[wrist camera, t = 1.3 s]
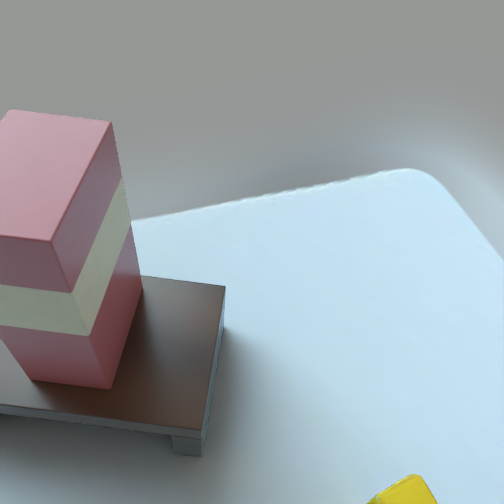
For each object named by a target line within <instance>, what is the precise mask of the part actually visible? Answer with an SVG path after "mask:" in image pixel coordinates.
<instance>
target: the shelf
mask: <svg viewBox="0 0 504 504" xmlns="http://www.w3.org/2000/svg"><path fill="white" fill-rule="evenodd" d="M141 280H142V286H143V288H142V291H141V294H140V297H139V300H138V304H137V307H136V310H135V313H134V317H133V320H132V323H131V326H130V329H129V333H128V336H127V339H126V342H125V346H124V349H123V352H122V355H121V359H120V362H119V365H118V368H117V371H116V375H115V378H114V381H113V384H112V388H111V390H107V389H99V388H91V387H84V386H76V385H68V384H60V383H52V382H44V381H37V380H30V379H29V377H28V376H27V375H26V373H25V372H24V371H23V369H22V368H21V366H20V365H19V364H18V362H17V361H16V359H15V358H14V357H13V355H12V354H11V352H10V351H9V350H8V348H7V347H6V345H5V344H4V343H3V341H2V340H1V338H0V413H2V414H9V415H17V416H25V417H33V418H41V419H48V420H56V421H64V422H72V423H80V424H87V425H95V426H103V427H111V428H119V429H126V430H134V431H142V432H150V433H158V434H165V435H171V438H172V444H173V449H174V453H175V454H181V455H188V456H196V457H202V456H203V450H204V444H205V437H206V431H207V425H208V419H209V412H210V406H211V400H212V394H213V387H214V381H215V375H216V369H217V363H218V356H219V350H220V344H221V338H222V331H223V325H224V308H225V290H226V287H225V286H220V285H212V284H204V283H197V282H189V281H181V280H173V279H165V278H157V277H149V276H141Z"/></svg>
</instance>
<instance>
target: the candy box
mask: <svg viewBox="0 0 504 504" xmlns="http://www.w3.org/2000/svg"><path fill="white" fill-rule="evenodd" d="M367 504H438V503H437V501H436V500H435V498H434V496H433V495H432V493H431V491H430V490H429V488H428V486H427V485H426V483H425V481H424V480H423V479H422V477H421V476H420V475H416V474H411V475H408V476H407V477H406V478H404V479H401V480H400V481H398V482H397V483H395V484H393V485H392V486H390V487H389V488H387V489H385V490H384V491H382V492H381V493H379V494H377V495H376V496H375V497H374V498H373V499H371V500H370V501H369V502H368V503H367Z"/></svg>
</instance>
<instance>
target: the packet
mask: <svg viewBox="0 0 504 504" xmlns="http://www.w3.org/2000/svg"><path fill="white" fill-rule="evenodd" d="M142 288H143V286H142V280H141V275H140V270H139V264H138V259H137V254H136V249H135V243H134V238H133V233H132V227H131V220H130V215H129V209H128V204H127V198H126V193H125V188H124V182H123V177H122V174H121V169H120V164H119V159H118V153H117V148H116V142H115V137H114V132H113V127H112V122H110V121H102V120H95V119H87V118H79V117H71V116H63V115H54V114H46V113H39V112H31V111H23V110H15V109H10V110H9V111H8V112H7V113H6V115H5V116H4V117H3V118H2V120H1V121H0V338H1V340H2V341H3V343H4V344H5V345H6V347H7V348H8V350H9V351H10V352H11V354H12V355H13V357H14V358H15V359H16V361H17V362H18V364H19V365H20V366H21V368H22V369H23V371H24V372H25V373H26V375H27V376H28V377H29V379H30V380H37V381H44V382H52V383H60V384H68V385H76V386H84V387H91V388H99V389H107V390H111V388H112V384H113V381H114V378H115V375H116V371H117V368H118V365H119V362H120V359H121V355H122V352H123V349H124V346H125V342H126V339H127V336H128V333H129V329H130V326H131V323H132V320H133V317H134V313H135V310H136V307H137V304H138V300H139V297H140V294H141V291H142Z"/></svg>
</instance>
